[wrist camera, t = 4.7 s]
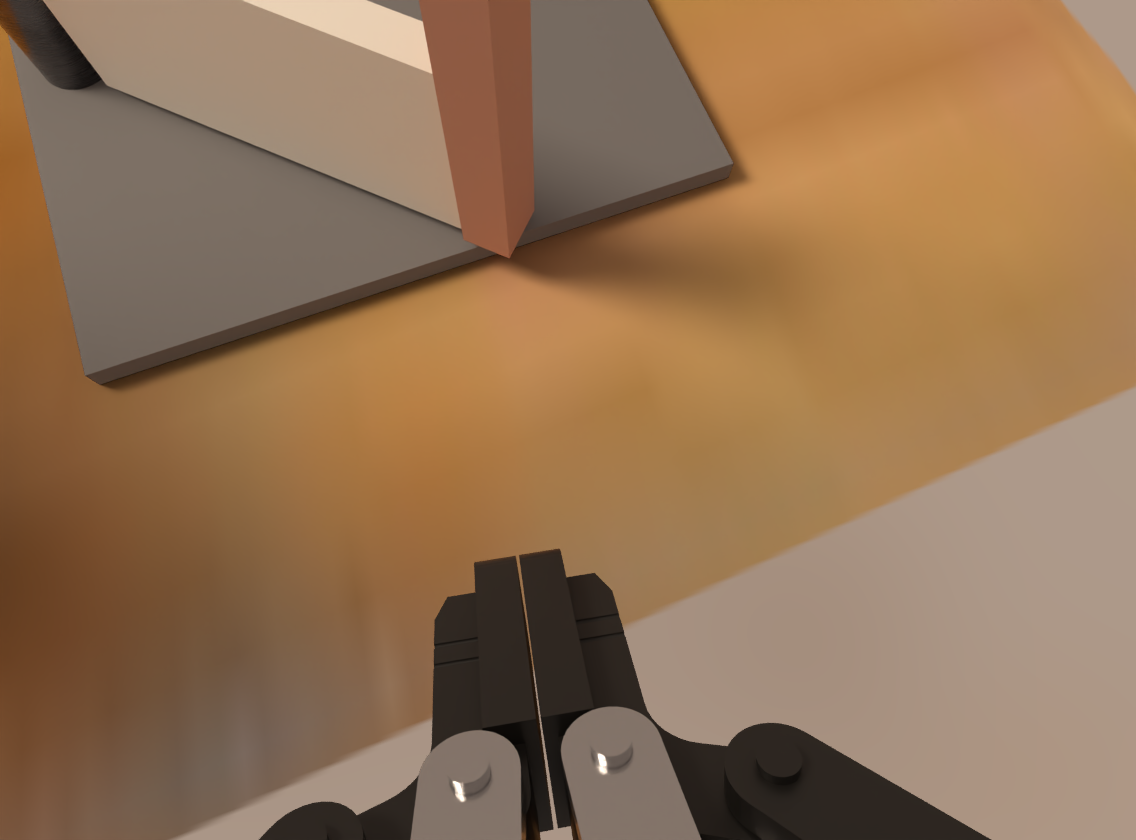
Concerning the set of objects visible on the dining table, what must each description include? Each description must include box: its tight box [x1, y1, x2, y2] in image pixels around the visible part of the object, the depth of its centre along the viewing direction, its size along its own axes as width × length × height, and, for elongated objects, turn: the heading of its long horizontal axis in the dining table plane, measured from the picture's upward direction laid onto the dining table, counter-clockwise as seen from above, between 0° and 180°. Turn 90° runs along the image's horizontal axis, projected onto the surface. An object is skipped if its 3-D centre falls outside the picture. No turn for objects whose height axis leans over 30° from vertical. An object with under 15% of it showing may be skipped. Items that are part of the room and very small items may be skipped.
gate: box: [43, 0, 534, 258], centre depth 26 cm, size 19×2×12 cm, turn 66°
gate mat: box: [8, 0, 734, 385], centre depth 34 cm, size 27×17×1 cm, turn 111°
